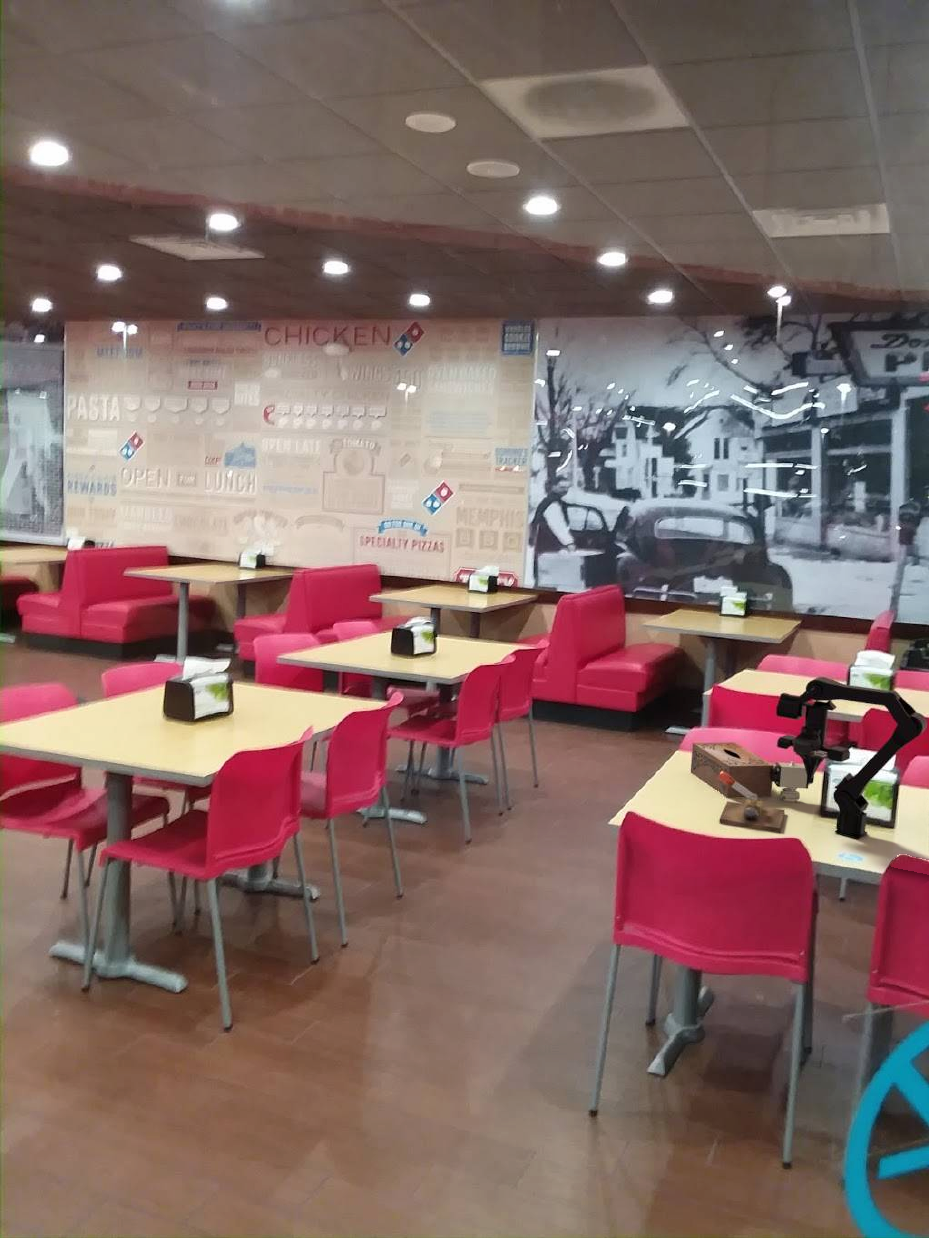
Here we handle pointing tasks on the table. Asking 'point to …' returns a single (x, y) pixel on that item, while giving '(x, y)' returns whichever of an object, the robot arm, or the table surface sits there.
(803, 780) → the pneumatic valve
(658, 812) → the table surface
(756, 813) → the valve body
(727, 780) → the lever
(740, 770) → the tissue box cover
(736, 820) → the mounting board
